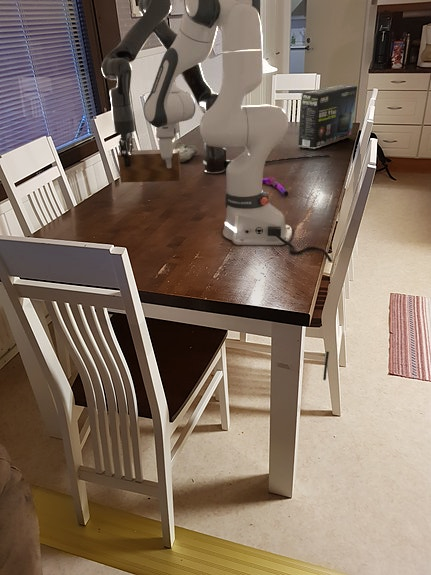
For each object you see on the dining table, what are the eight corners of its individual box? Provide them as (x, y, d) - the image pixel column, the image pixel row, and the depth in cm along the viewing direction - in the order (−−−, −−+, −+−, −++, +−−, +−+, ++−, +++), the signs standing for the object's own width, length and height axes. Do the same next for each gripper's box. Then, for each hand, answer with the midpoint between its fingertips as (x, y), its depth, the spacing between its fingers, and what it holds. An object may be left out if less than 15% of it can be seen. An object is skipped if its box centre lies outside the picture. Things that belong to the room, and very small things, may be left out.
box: (181, 175, 181) (179, 148, 176) (179, 180, 176) (177, 153, 171) (124, 177, 182) (120, 150, 176) (121, 182, 177) (117, 155, 171)
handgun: (255, 182, 193) (255, 177, 192) (273, 180, 195) (273, 175, 194) (269, 198, 176) (269, 193, 175) (289, 195, 177) (289, 191, 176)
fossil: (184, 156, 217) (163, 136, 220) (174, 174, 223) (154, 154, 227) (205, 153, 231) (186, 134, 234) (195, 171, 237) (176, 152, 240)
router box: (314, 151, 231) (318, 94, 217) (296, 148, 237) (299, 92, 224) (352, 138, 251) (358, 85, 238) (335, 135, 258) (340, 83, 245)
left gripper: (117, 114, 174) (123, 159, 182) (108, 122, 161) (115, 170, 170) (136, 114, 173) (142, 158, 182) (129, 122, 161) (135, 169, 170)
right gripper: (161, 122, 178) (164, 157, 185) (155, 134, 160) (159, 173, 167) (177, 121, 177) (180, 157, 185) (173, 133, 160) (176, 172, 167)
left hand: (129, 164), depth 176 cm, fingers closed on box, 6 cm apart
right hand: (170, 164), depth 176 cm, fingers closed on box, 6 cm apart
